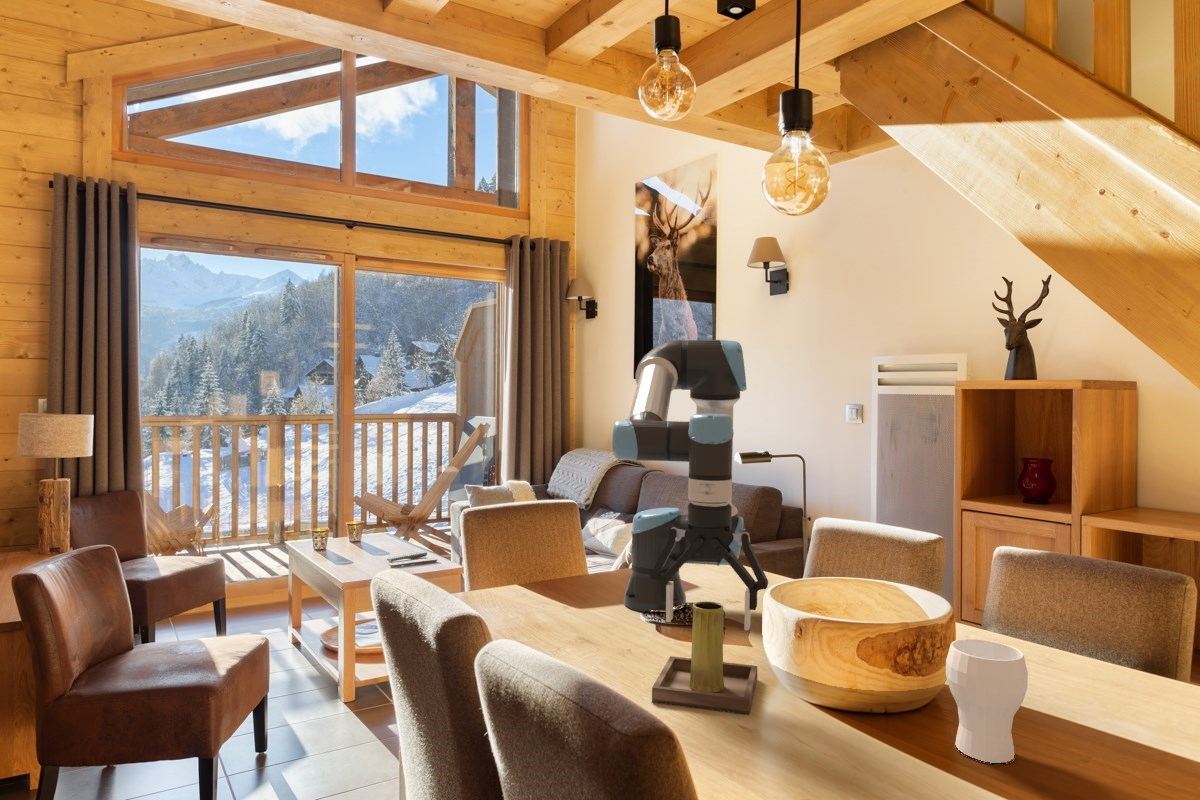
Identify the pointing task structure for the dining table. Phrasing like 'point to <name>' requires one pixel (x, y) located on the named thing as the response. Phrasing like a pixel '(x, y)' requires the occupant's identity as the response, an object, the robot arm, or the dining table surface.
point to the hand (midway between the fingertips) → (707, 623)
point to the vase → (707, 648)
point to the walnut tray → (731, 699)
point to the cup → (986, 696)
